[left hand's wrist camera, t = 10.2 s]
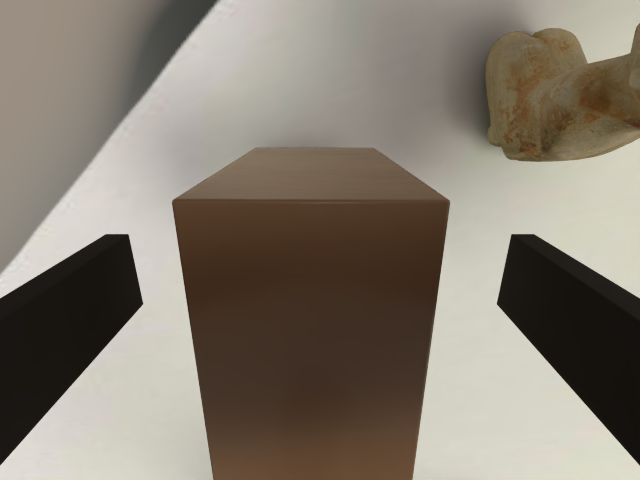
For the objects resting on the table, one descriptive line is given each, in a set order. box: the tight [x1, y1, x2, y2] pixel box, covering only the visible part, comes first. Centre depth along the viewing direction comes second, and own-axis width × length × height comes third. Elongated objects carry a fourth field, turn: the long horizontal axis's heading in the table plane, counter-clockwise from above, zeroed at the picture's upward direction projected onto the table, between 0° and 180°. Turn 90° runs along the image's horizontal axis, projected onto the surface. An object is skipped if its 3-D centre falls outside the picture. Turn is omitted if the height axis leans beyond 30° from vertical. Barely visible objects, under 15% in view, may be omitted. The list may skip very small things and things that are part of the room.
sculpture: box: [485, 24, 640, 162], centre depth 16 cm, size 6×7×15 cm
